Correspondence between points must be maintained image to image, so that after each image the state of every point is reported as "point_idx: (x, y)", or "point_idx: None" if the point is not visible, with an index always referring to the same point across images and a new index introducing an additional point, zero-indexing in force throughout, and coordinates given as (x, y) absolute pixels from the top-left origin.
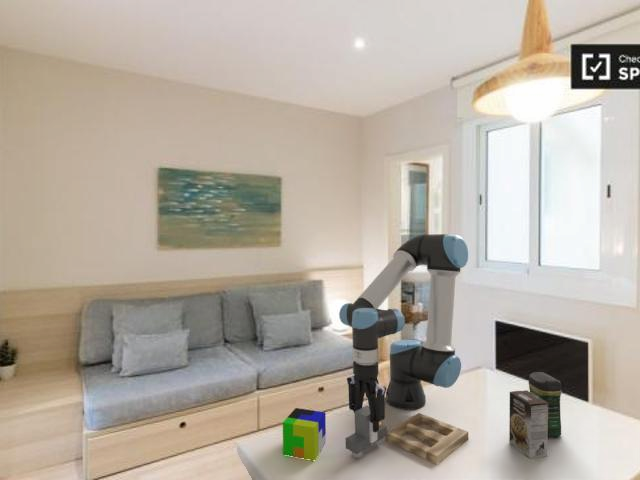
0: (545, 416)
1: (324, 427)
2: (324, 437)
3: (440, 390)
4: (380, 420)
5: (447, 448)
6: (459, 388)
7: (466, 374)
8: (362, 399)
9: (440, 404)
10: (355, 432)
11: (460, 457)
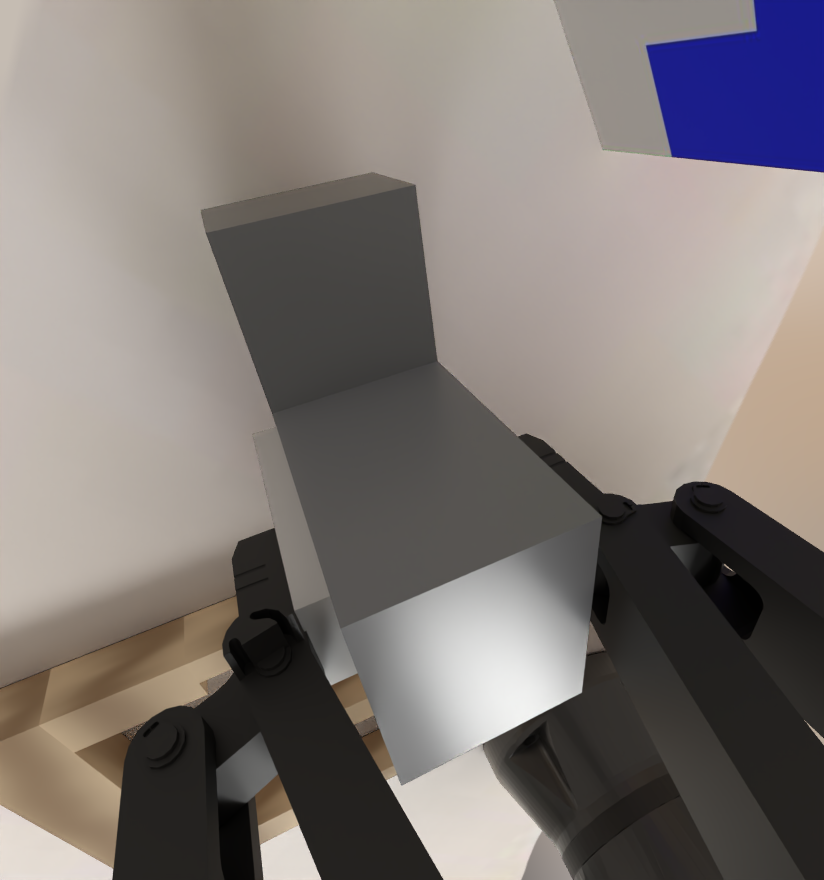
0: None
1: (734, 126)
2: (647, 120)
3: (516, 806)
4: (136, 766)
5: (32, 816)
6: (483, 847)
7: (523, 865)
8: (682, 775)
9: (452, 796)
10: (433, 365)
11: (3, 808)
